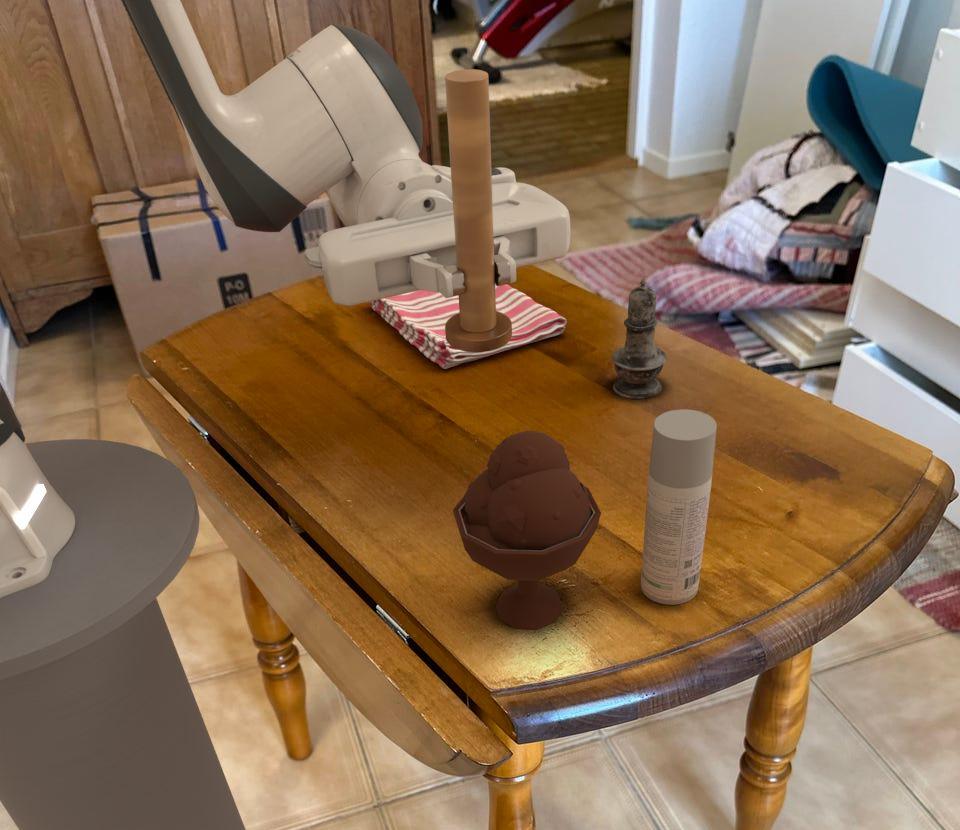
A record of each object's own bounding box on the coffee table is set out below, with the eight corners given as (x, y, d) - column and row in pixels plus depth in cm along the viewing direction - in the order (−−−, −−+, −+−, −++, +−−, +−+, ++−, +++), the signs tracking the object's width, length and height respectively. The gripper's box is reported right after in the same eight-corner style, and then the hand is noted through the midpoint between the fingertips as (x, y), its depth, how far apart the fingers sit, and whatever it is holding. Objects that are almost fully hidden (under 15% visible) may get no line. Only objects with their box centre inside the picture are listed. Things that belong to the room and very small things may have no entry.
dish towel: (445, 375, 107) (443, 346, 105) (367, 308, 123) (363, 282, 121) (570, 337, 113) (570, 309, 110) (480, 278, 128) (478, 252, 126)
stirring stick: (477, 359, 70) (464, 92, 57) (432, 337, 73) (409, 77, 60) (525, 334, 72) (523, 72, 59) (480, 314, 75) (468, 59, 62)
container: (687, 565, 78) (705, 404, 68) (706, 600, 75) (728, 435, 65) (633, 574, 78) (644, 413, 68) (650, 609, 75) (663, 445, 64)
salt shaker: (650, 371, 105) (657, 263, 97) (673, 393, 101) (683, 283, 92) (602, 381, 104) (605, 273, 96) (623, 404, 99) (628, 294, 91)
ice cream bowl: (439, 596, 77) (420, 437, 67) (552, 551, 81) (550, 394, 71) (502, 671, 70) (492, 505, 60) (623, 618, 74) (632, 454, 64)
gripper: (290, 209, 73) (340, 266, 64) (525, 163, 78) (604, 209, 69) (305, 288, 77) (354, 353, 68) (527, 239, 82) (602, 293, 73)
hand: (482, 280), depth 68 cm, fingers closed on stirring stick, 3 cm apart
